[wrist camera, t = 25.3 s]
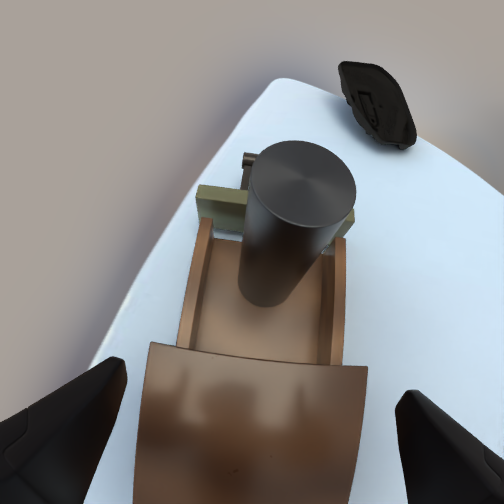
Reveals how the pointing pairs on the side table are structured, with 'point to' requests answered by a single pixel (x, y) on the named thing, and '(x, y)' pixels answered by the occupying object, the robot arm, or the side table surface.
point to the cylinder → (290, 217)
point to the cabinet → (246, 430)
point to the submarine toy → (377, 103)
